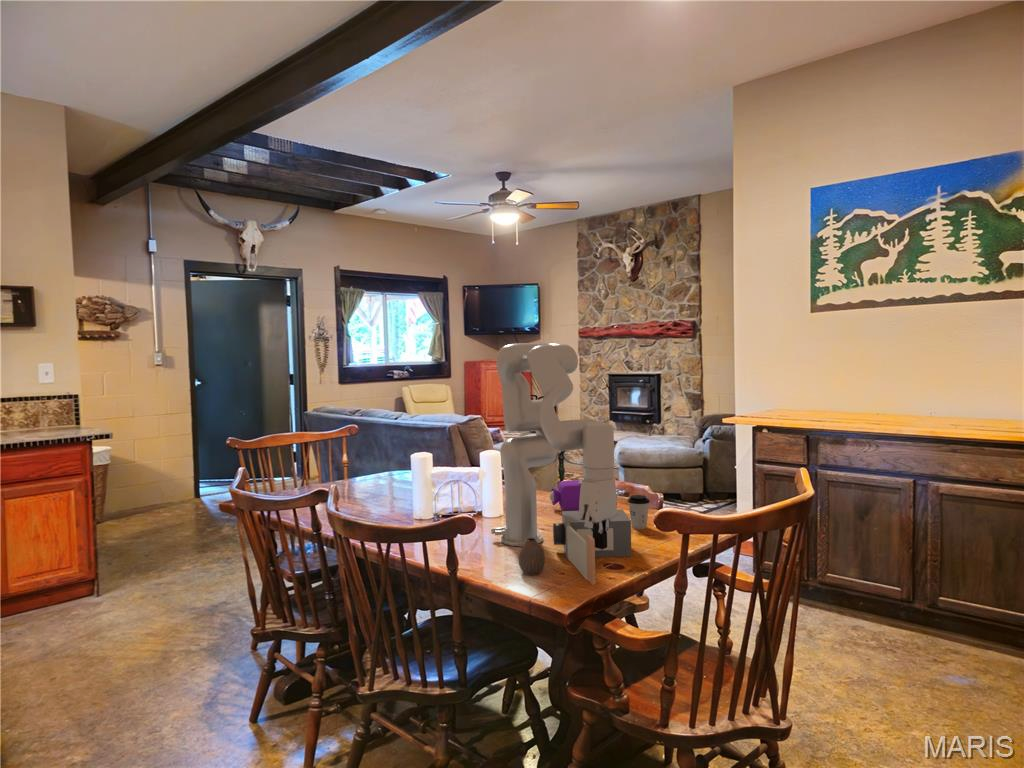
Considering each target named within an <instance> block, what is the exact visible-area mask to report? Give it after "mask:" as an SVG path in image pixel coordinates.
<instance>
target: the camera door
mask: <svg viewBox="0 0 1024 768" xmlns="http://www.w3.org/2000/svg"><path fill="white" fill-rule="evenodd" d="M566 557H567V558H566ZM565 558H566V560H567V561H570V563H571V564H572V565H573V566H574V567H575V568H576V569H577V572H579V573H580V574H581V576H582V577H584V579H585V580H586V581H589V582H590V584H591V585H596V557H595V539H594V538H593V537H592V536H590V535H586V541H585V540H584V539H583V538H582V537H581V536H580V535H579V534H578V533H577V532H576V531H575V530H574V529H573V528H572V527H571V526H570V523H566V554H565Z"/></svg>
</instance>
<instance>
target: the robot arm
mask: <svg viewBox="0 0 1024 768" xmlns="http://www.w3.org/2000/svg"><path fill="white" fill-rule="evenodd" d="M495 361H496V362H495V363H496V364H495V365H496V370H497V371H496V372H497V374H498V378H499V381H500V385H501V393H502V413H503V423H504V424H503V425H504V427H505V429H506V430H507V431H508V432H510V433H527V432H535V435H526V436H525V435H524V436H516V437H511V438H508V439H506V440H505V441H504V442H502V444H501V447H500V449H499V450H500V451H499V453H500V460H501V464H502V468H503V469H502V470H503V477H504V479H503V480H504V505H505V510H504V511H505V523H504V525H501V527H491V528H490V529H491V535H494V536H501V537H500V541H501V543H502V544H504V545H507V546H513V547H522V546H523V545H524V544H525V542H526V540H527V539H528V538H535V539H536V541H537V543H538V544H540V543H541V542H542V541H543V535H542V534H541V533H539V532H538V514H537V513H538V511H537V510H538V508H537V505H538V504H537V482H536V480H535V478H534V476H533V475H532V473H531V472H530V470H529V469H530V468H531V469H532V468H535V467H536V468H537V467H543V466H544V467H545V466H549V465H552V464H553V463H554V462H555V461H556V458H557V453H558V452H557V451H559V452H567V451H574V450H582V466H583V467H582V468H583V469H582V474H583V476H582V477H583V480H581V481H582V483H581V489H580V501H579V510H578V511H579V518H580V520H585V524H584V527H586V528H591V531H592V532H593V538H594V539H595V548H599V549H604V548H607V532H606V531H608V529H609V523H610V522H611V521H612V520H613V519H614V516H615V515H616V513H617V510H618V495H617V494H618V493H617V487H616V479H615V440H614V439H615V437H614V436H615V435H614V433H615V432H614V431H615V430H614V427H613V424H610V423H608V422H600V421H598V420H596V419H593V418H581V419H569V420H566V419H565V420H560V418H559V417H558V415H557V412H556V410H555V407H556V406H557V405H558V404H560V403H563V402H564V401H565V400H566V399H568V398H569V397H570V396H571V394H572V393H573V391H574V384H573V382H572V380H571V378H570V376H569V374H573V373H574V372H575V371H576V370H577V368H578V365H579V358H578V354H577V352H576V350H575V349H574V348H573V347H572V346H570V345H569V344H565V343H564V344H563V343H562V344H559V343H549V342H536V343H535V342H532V343H530V342H529V343H527V342H525V343H523V342H521V343H519V342H518V343H511V344H510V343H509V344H507V345H504V346H502V347H501V348H500V349H499V351H498V352H497V355H496V360H495ZM522 373H531V374H532V377H533V378H534V380H535V381H536V384H537V386H538V387H539V390H540V392H541V394H542V395H543V399H532V398H531V386H530V383H529V381H528V379H527V378H526V376H524V374H522Z"/></svg>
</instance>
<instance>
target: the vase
mask: <svg viewBox="0 0 1024 768" xmlns="http://www.w3.org/2000/svg"><path fill="white" fill-rule="evenodd" d="M545 564H546V556H545V552H544V550H543V548H542V547H541V546H540V543H537V541H536V539H535V538H528V539H527V540H526V542H525V544H524V545H523V546H521V548H520V550H519V551H518V565H519V568H520V570H521V571H522V572H523V574H526V575H528V576H536V575H538V574H540V573H542V570H544V568H545Z"/></svg>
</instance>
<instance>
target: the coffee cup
mask: <svg viewBox="0 0 1024 768" xmlns="http://www.w3.org/2000/svg"><path fill="white" fill-rule="evenodd" d="M627 502H628V507H629V508H628V509H629V516H630V517H629V518H630V520H631V529H633V530H646V529H647V527H648V516H649V507H650V503H651V501H650V499H649V498H647V496H646V495H643V494H633V495H630V496H629V498H628V500H627Z"/></svg>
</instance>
